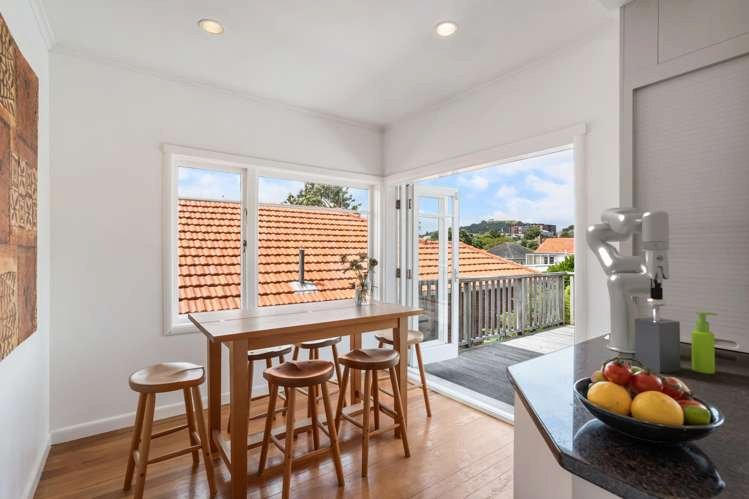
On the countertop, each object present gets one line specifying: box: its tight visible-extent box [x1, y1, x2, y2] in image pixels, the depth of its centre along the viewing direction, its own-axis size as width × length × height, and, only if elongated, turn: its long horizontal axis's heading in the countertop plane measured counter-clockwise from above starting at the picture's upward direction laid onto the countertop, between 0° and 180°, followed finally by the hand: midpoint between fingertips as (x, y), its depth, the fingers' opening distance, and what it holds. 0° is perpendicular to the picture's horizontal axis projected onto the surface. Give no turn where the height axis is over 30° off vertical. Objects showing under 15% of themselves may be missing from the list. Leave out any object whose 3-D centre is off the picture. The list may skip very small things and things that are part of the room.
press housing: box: [634, 316, 681, 373], centre depth 132 cm, size 9×9×17 cm
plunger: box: [646, 297, 667, 321], centre depth 132 cm, size 6×6×19 cm
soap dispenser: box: [691, 311, 718, 374], centre depth 128 cm, size 6×7×20 cm
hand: (656, 299), depth 131 cm, fingers closed
